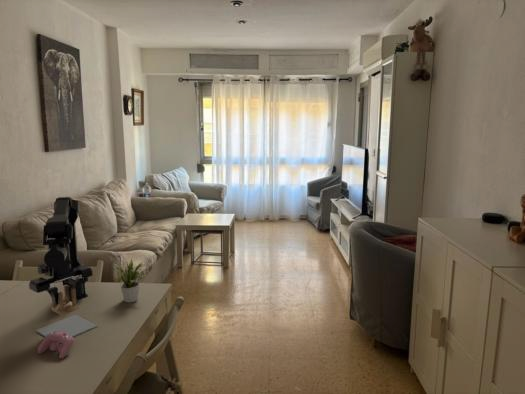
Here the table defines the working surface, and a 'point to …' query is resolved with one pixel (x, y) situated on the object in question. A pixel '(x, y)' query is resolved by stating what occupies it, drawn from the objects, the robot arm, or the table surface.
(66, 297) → the stool
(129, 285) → the house plant
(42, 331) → the mat
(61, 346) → the video game controller
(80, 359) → the table surface
